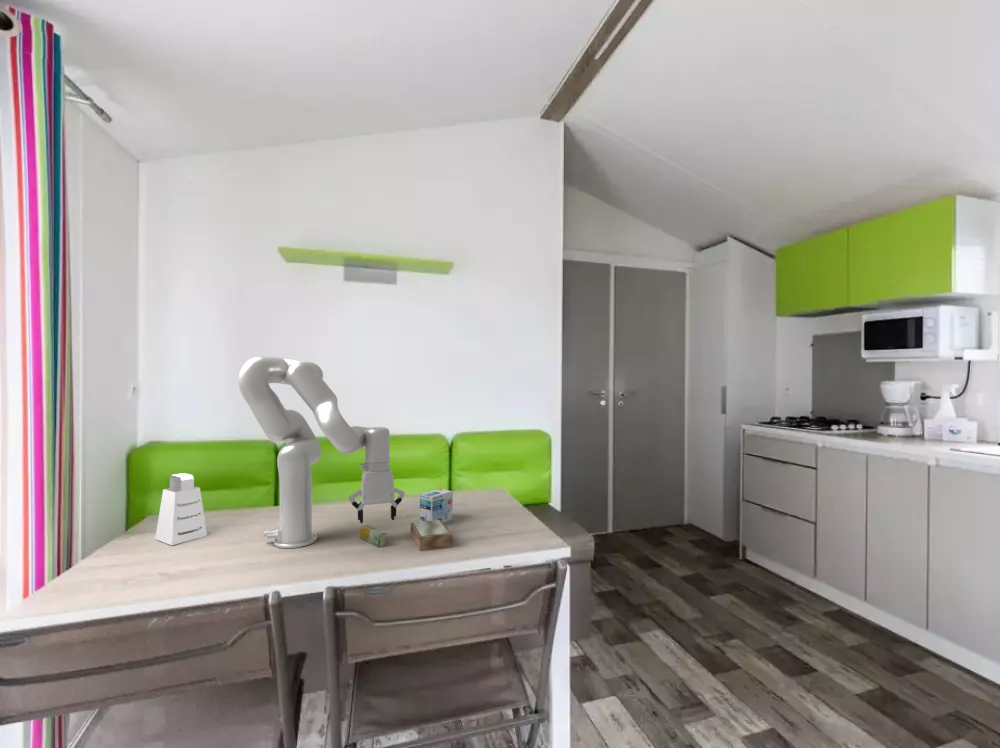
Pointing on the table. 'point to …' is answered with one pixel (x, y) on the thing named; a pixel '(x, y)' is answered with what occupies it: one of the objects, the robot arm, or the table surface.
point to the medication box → (373, 535)
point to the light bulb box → (436, 505)
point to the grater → (180, 511)
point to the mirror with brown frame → (431, 535)
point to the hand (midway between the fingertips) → (377, 520)
